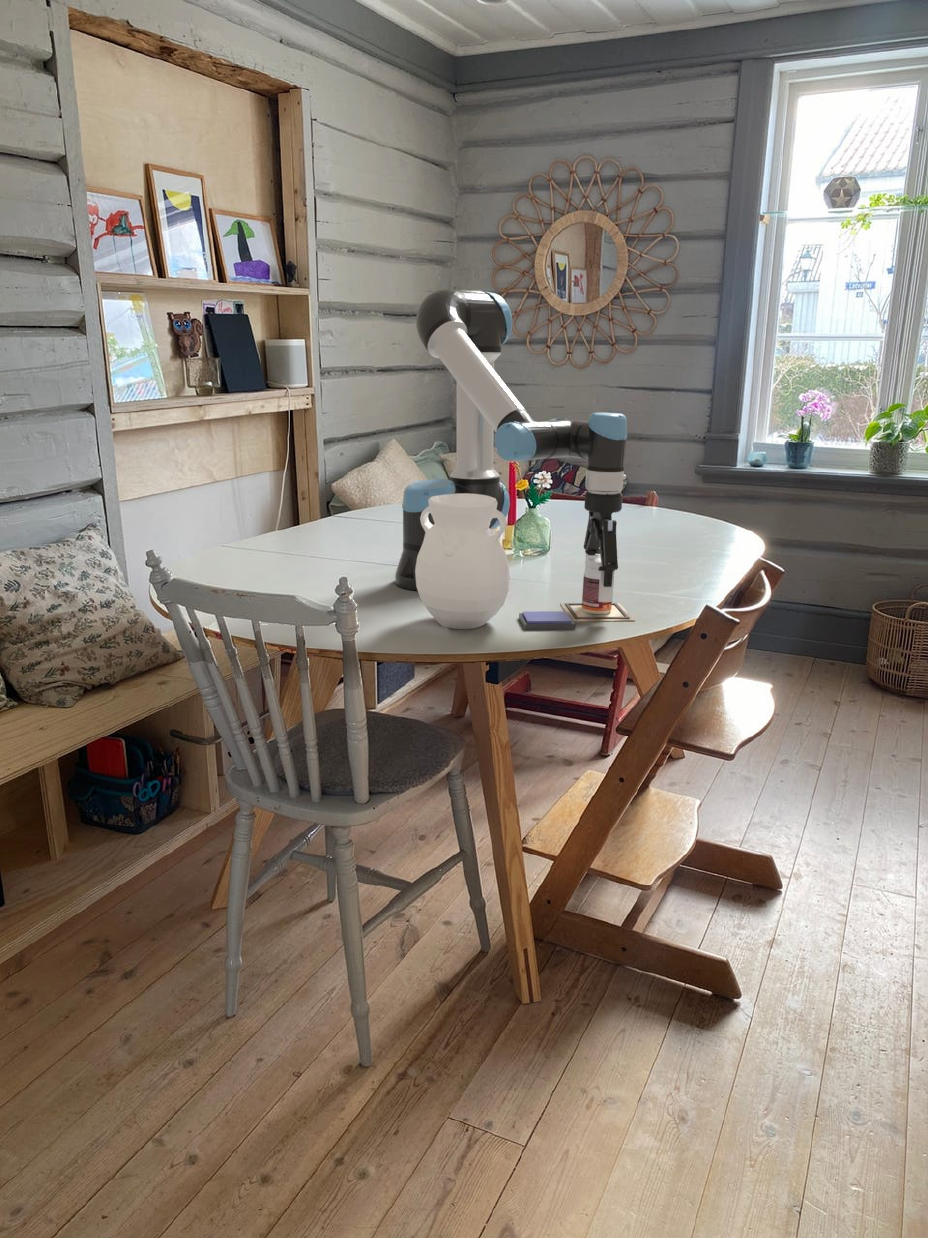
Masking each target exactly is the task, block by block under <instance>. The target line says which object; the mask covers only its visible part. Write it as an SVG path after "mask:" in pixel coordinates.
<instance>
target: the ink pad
mask: <svg viewBox="0 0 928 1238" xmlns="http://www.w3.org/2000/svg"><path fill="white" fill-rule="evenodd" d="M518 619H519V621H520V623H521V626H522V627H523V630H525V631H530V630H531V631H536V630H537V631H541V630H542V631H545V630H548V631H549V630H550V631H551V630H555V631H557V630H559V631H560V630H561V631H562V630H566V631H568V630H573V631H574V630H576V622H575V621H573V620H572V619H571V617H570V616H569V614H568V613H566V612H565V611H561V610H559V611H558V610H556V611H554V610H553V611H552V610H551V611H548V610H546V611H542V610H541V611H522V612H518Z"/></svg>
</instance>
